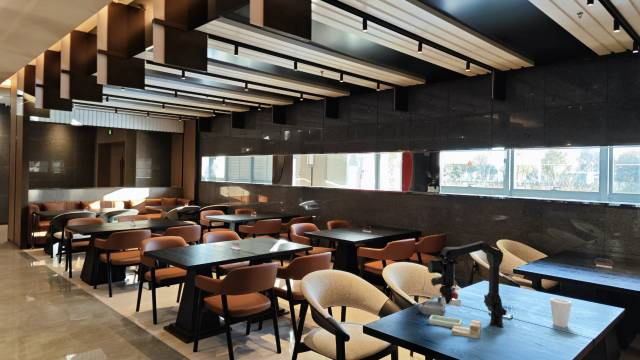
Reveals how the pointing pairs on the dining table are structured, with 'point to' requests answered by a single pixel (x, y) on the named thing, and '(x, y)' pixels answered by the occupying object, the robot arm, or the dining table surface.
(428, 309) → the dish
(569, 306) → the foam cup
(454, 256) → the robot arm
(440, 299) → the pin
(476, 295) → the dining table surface
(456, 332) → the bracket
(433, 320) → the tray
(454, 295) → the pomegranate
